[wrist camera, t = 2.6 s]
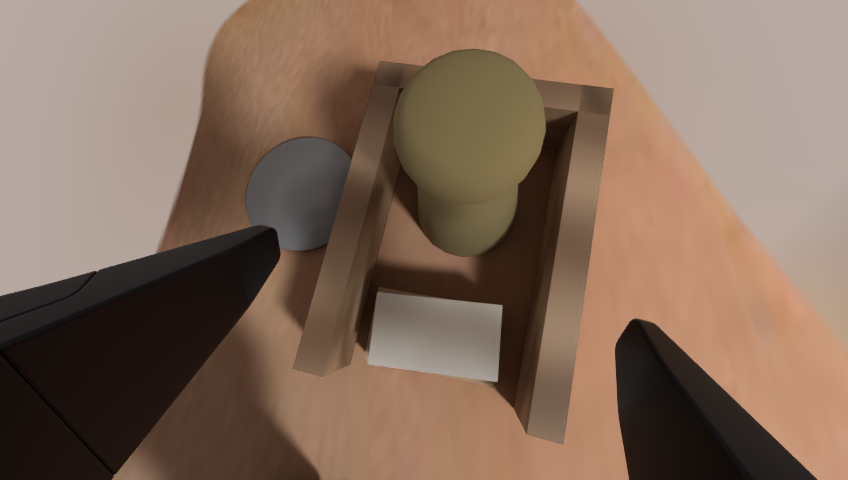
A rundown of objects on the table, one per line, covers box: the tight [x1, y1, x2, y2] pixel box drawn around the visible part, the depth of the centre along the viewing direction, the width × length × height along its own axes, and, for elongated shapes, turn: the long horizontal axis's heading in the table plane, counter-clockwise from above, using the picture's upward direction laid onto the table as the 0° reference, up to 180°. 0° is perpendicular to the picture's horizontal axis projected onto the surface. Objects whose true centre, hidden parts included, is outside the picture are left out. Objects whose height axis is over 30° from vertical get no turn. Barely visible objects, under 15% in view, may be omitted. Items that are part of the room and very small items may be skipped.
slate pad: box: [246, 137, 352, 252], centre depth 22 cm, size 8×8×1 cm
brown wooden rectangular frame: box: [293, 61, 614, 444], centre depth 19 cm, size 17×12×4 cm
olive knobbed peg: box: [393, 49, 546, 257], centre depth 16 cm, size 6×6×11 cm
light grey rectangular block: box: [364, 287, 504, 387], centre depth 19 cm, size 4×7×3 cm, turn 80°
